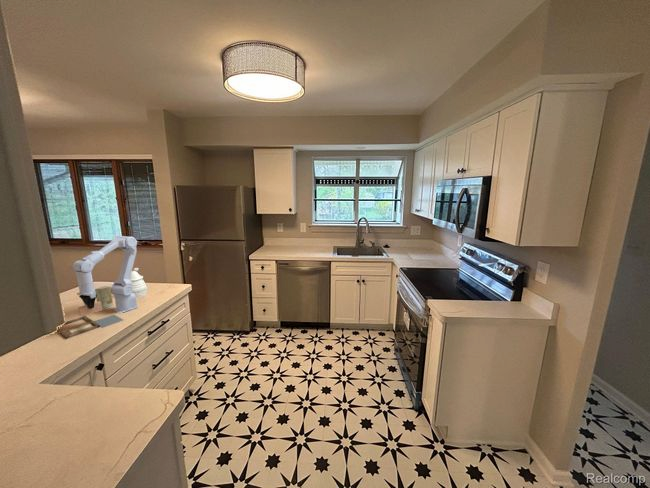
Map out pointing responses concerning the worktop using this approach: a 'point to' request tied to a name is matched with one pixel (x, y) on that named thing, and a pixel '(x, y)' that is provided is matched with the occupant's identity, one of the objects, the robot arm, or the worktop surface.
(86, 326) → the offcut upper
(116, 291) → the robot arm
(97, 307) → the dusty pink block
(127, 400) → the worktop surface
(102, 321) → the slate mat
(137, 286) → the honey pot
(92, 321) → the walnut rack
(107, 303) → the skincare box
